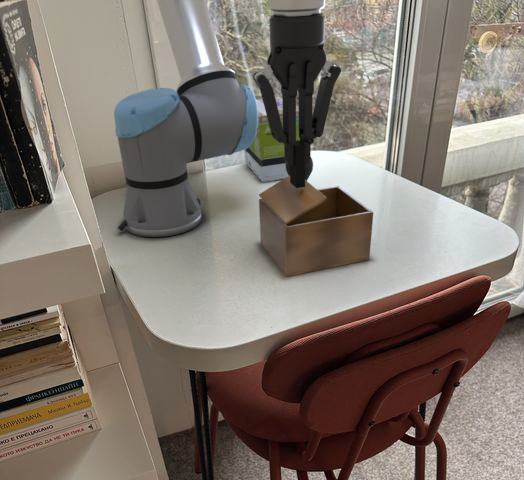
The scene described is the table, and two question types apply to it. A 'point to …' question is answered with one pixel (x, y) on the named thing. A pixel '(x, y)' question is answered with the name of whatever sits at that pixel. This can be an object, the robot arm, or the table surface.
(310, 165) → the light bulb
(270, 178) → the tea box
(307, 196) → the flap
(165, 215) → the robot arm
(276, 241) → the carton
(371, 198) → the table surface
